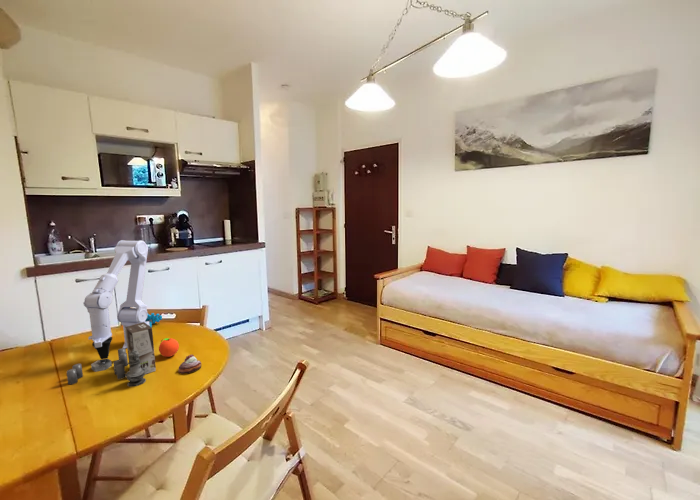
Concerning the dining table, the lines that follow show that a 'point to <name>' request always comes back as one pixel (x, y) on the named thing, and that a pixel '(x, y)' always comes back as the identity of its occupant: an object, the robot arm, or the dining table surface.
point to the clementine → (168, 347)
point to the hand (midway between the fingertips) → (104, 358)
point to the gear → (153, 318)
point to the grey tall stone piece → (135, 370)
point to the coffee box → (142, 344)
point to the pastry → (189, 365)
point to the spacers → (118, 368)
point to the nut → (101, 365)
